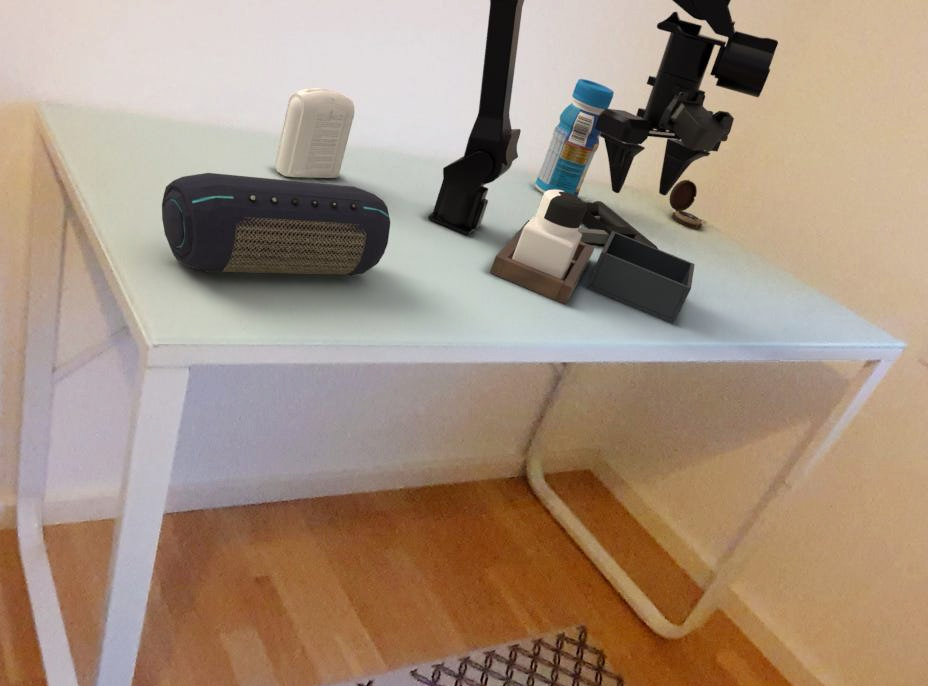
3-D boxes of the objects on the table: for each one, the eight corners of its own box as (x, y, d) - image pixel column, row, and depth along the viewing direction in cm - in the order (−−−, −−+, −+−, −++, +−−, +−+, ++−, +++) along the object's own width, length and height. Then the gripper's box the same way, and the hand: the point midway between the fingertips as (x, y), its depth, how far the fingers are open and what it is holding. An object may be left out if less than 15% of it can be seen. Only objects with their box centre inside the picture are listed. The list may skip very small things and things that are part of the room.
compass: (684, 228, 165) (700, 192, 161) (660, 211, 171) (676, 176, 167) (713, 232, 169) (730, 198, 165) (689, 215, 175) (705, 182, 171)
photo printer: (325, 168, 129) (344, 86, 123) (342, 180, 127) (363, 97, 121) (269, 167, 122) (286, 81, 116) (286, 180, 120) (305, 92, 114)
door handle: (588, 242, 130) (670, 249, 137) (531, 191, 145) (608, 199, 152) (581, 262, 132) (662, 268, 139) (525, 209, 146) (602, 217, 153)
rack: (489, 272, 114) (495, 256, 113) (522, 234, 132) (528, 219, 130) (565, 304, 113) (572, 288, 111) (588, 261, 130) (595, 247, 129)
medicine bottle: (564, 279, 121) (596, 200, 115) (554, 294, 114) (588, 211, 108) (518, 259, 121) (548, 180, 115) (506, 273, 115) (536, 190, 109)
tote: (585, 287, 120) (601, 252, 118) (597, 263, 131) (612, 230, 128) (673, 324, 119) (691, 288, 116) (678, 297, 129) (694, 263, 127)
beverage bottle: (524, 183, 156) (564, 74, 146) (552, 184, 162) (592, 78, 152) (557, 203, 152) (600, 92, 142) (585, 203, 158) (628, 96, 148)
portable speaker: (177, 289, 84) (192, 194, 79) (147, 243, 91) (159, 153, 86) (390, 291, 99) (414, 212, 94) (352, 252, 106) (372, 175, 101)
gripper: (675, 85, 98) (630, 214, 106) (773, 100, 109) (726, 216, 116) (612, 60, 106) (575, 182, 113) (709, 77, 116) (669, 188, 124)
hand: (639, 193), depth 117 cm, fingers open, 9 cm apart
